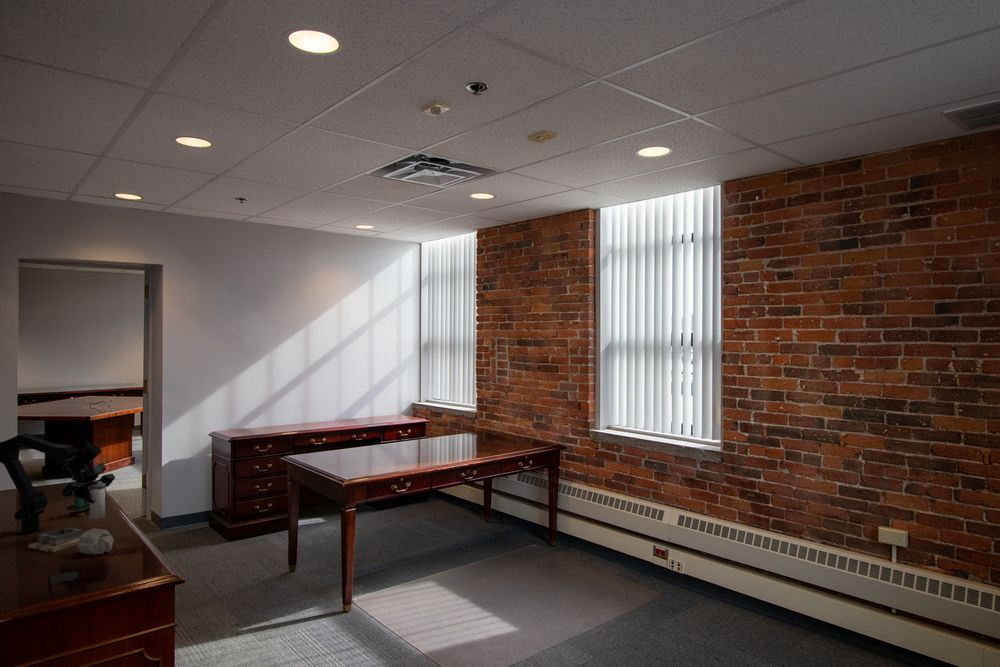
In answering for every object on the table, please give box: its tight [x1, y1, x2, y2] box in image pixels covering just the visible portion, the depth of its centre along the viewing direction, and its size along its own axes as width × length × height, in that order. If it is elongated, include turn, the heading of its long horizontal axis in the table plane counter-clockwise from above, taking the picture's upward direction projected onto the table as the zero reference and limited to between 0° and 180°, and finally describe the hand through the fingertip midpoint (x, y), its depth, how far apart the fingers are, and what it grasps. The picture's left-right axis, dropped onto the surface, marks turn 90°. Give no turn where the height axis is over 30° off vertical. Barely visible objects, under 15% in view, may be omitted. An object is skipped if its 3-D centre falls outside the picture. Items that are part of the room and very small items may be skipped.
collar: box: [27, 526, 84, 553], centre depth 225 cm, size 14×14×4 cm
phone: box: [49, 571, 79, 585], centre depth 189 cm, size 7×1×15 cm
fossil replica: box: [76, 527, 115, 556], centre depth 216 cm, size 12×8×10 cm
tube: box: [88, 483, 107, 520], centre depth 237 cm, size 5×5×13 cm
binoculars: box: [66, 488, 90, 517], centre depth 266 cm, size 9×11×10 cm
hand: (100, 501), depth 237 cm, fingers closed on tube, 5 cm apart
